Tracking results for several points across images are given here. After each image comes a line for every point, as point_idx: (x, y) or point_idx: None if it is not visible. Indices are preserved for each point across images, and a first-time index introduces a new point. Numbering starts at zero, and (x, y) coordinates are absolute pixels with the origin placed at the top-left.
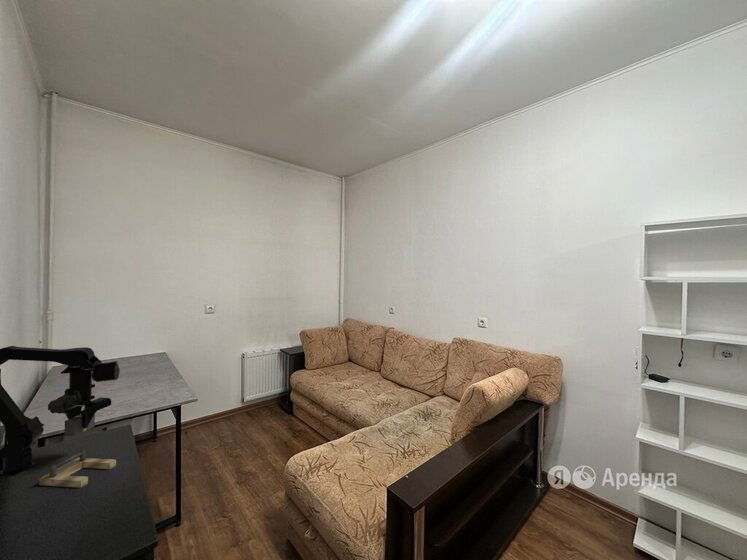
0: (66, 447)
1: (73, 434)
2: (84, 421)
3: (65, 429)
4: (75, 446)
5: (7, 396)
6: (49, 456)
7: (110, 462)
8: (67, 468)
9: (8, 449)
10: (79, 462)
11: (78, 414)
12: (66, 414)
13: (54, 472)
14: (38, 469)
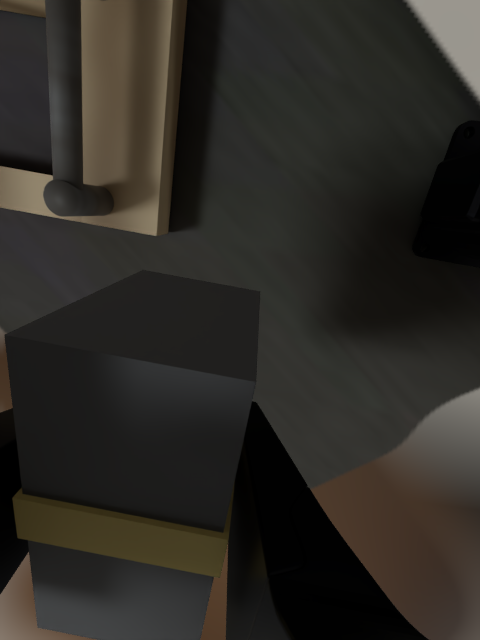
0: (385, 413)
1: (137, 273)
2: (4, 412)
3: (243, 310)
4: (344, 416)
5: None
6: (408, 333)
7: None
8: (100, 94)
9: None
10: (94, 173)
11: (231, 612)
12: (371, 616)
13: None
14: (358, 197)
